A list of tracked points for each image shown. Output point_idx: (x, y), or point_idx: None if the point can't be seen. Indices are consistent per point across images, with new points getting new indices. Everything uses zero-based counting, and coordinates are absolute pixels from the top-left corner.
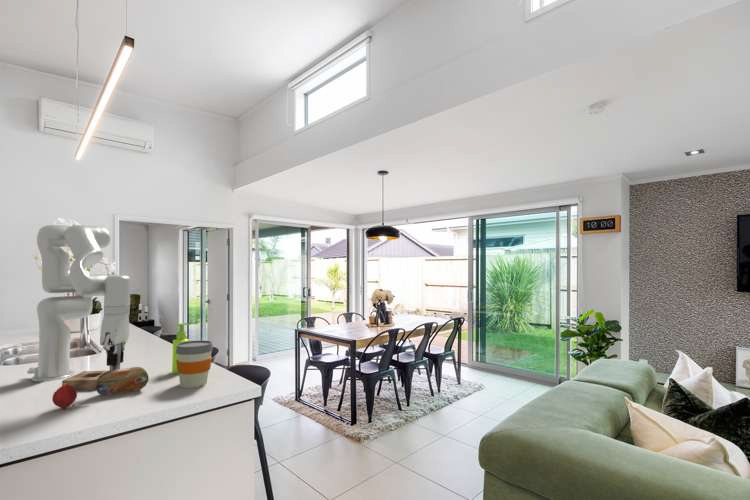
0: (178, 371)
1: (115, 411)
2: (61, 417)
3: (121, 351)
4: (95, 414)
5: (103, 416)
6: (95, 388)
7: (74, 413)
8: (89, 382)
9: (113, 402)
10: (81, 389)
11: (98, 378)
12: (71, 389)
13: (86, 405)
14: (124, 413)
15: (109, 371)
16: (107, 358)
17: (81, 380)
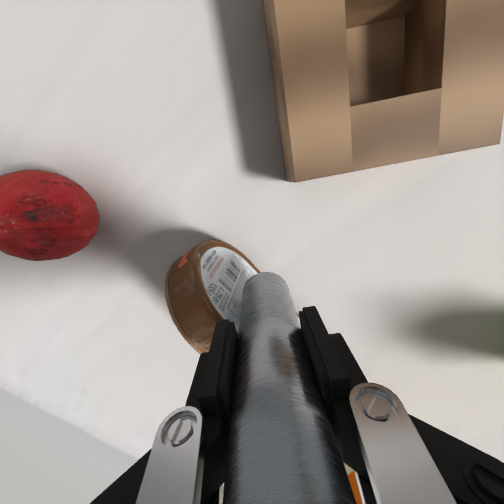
0: (352, 480)
1: (111, 375)
2: (24, 264)
3: (338, 445)
4: (77, 341)
5: (72, 369)
6: (286, 163)
7: (63, 277)
8: (286, 127)
9: (174, 324)
10: (277, 93)
11: (183, 271)
12: (21, 257)
13: (131, 260)
14: (105, 402)
15: (207, 328)
16: (210, 361)
17: (282, 71)
